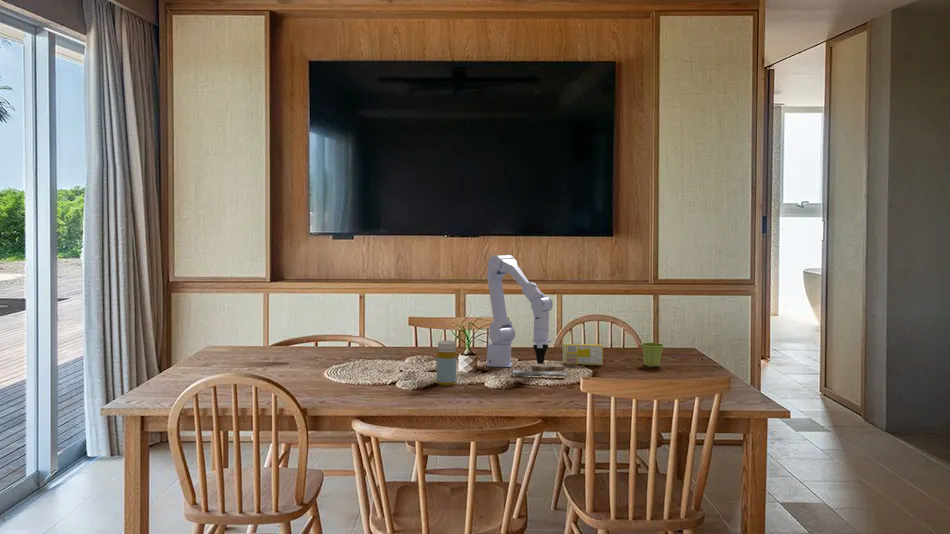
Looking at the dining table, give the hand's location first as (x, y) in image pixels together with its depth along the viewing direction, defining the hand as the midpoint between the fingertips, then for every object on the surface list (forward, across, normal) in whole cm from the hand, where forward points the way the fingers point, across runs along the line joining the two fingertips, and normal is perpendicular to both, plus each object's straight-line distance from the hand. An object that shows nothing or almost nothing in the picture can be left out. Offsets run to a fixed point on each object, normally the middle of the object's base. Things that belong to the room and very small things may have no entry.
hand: (540, 363), depth 304 cm
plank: (+4, +1, -3) cm, 5 cm away
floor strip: (+4, -6, 0) cm, 7 cm away
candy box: (+4, +21, -16) cm, 27 cm away
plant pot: (+4, +25, -44) cm, 51 cm away
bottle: (+4, -26, +32) cm, 41 cm away
